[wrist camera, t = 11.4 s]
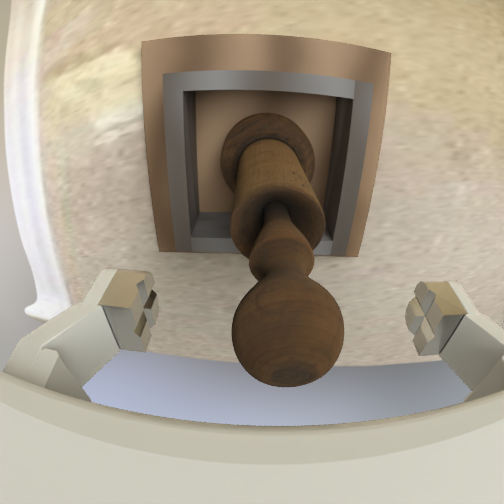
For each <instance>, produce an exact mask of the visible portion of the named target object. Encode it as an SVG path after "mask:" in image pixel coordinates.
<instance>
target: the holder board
mask: <svg viewBox="0 0 504 504" xmlns="http://www.w3.org/2000/svg"><path fill="white" fill-rule="evenodd" d="M390 63H391V53H389V52H385V51H380V50H376V49H372V48H367V47H362V46H357V45H352V44H346V43H341V42H334V41H328V40H321V39H313V38H304V37H293V36H280V35H261V34H216V35H197V36H184V37H173V38H165V39H157V40H150V41H143V42H142V93H143V113H144V128H145V141H146V152H147V163H148V173H149V182H150V190H151V198H152V206H153V213H154V220H155V227H156V234H157V240H158V246H159V252H193V253H229V254H242V253H241V252H240V251H239V250H238V249H237V248H236V246H235V244H234V242H233V240H232V237H231V233H230V219H231V213H232V208H233V202H234V196H235V194H234V193H233V192H232V191H231V190H230V188H229V187H228V185H227V184H226V182H225V180H224V178H223V175H222V171H221V165H220V157H221V151H222V148H223V145H224V142H225V139H226V137H227V135H228V133H229V132H230V130H231V129H232V128H233V127H234V126H235V125H236V124H237V123H238V122H239V121H241V120H242V119H244V118H246V117H248V116H250V115H254V114H258V113H274V114H279V115H282V116H284V117H287V118H288V119H290V120H292V121H293V122H294V123H296V124H297V125H298V126H299V127H300V128H301V129H302V131H303V132H304V133H305V134H306V136H307V137H308V139H309V141H310V142H311V145H312V147H313V150H314V155H315V171H314V175H313V178H312V180H311V183H310V185H311V187H312V189H313V191H314V193H315V195H316V197H317V199H318V201H319V203H320V205H321V207H322V209H323V212H324V216H325V230H324V234H323V237H322V239H321V241H320V243H319V245H318V246H317V247H316V248H315V249H314V250H313V254H314V256H343V257H358V254H359V250H360V246H361V242H362V238H363V234H364V229H365V225H366V221H367V216H368V212H369V207H370V202H371V197H372V192H373V187H374V182H375V177H376V171H377V166H378V160H379V154H380V148H381V142H382V135H383V128H384V121H385V113H386V105H387V96H388V86H389V76H390Z"/></svg>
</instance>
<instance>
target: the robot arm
mask: <svg viewBox="0 0 504 504" xmlns="http://www.w3.org/2000/svg"><path fill="white" fill-rule="evenodd" d="M153 285H154V280H153V276H152V273H150V272H147V271H136V270H126V269H113V268H105V269H103V270H102V271H101V272H100V274H99V276H98V277H97V279H96V280H95V282H94V284H93V285H92V287H91V289H90V290H89V292H88V293H87V295H86V297H85V298H84V300H83V302H82V303H76V304H75V305H73V306H71V307H70V308H68V309H67V310H65V311H63V312H62V313H60V314H59V315H57V316H56V317H54V318H52V319H51V320H49V321H48V322H46V323H45V324H43V325H42V326H40V327H39V328H37V329H35V330H34V331H32V332H31V333H29V334H28V335H26V336H25V337H23V338H22V339H20V341H19V343H18V344H17V346H16V348H15V350H14V351H13V353H12V355H11V357H10V358H9V361H8V362H7V364H6V366H5V368H4V370H3V371H0V504H504V329H503V328H501V327H500V326H499V325H497V324H496V323H495V322H493V321H492V320H491V319H489V318H488V317H487V316H485V315H484V314H483V313H479V312H478V311H477V309H476V307H475V306H474V304H473V303H472V301H471V299H470V298H469V296H468V295H467V293H466V292H465V290H464V289H463V287H462V286H461V284H460V283H459V282H457V281H444V282H419V283H418V284H417V286H416V288H415V290H414V293H415V297H414V298H413V299H412V300H411V301H410V302H409V304H408V306H407V309H406V315H405V319H406V325H407V327H408V330H409V331H410V332H412V333H413V334H414V338H413V342H414V345H415V347H416V350H417V352H418V355H419V356H427V355H437V354H440V355H439V356H440V357H441V358H442V359H443V360H444V361H445V362H446V363H447V364H448V365H449V366H450V367H451V369H453V371H454V372H455V373H456V374H457V375H458V376H459V377H460V378H461V379H462V380H463V382H464V383H465V384H466V385H467V386H468V387H469V388H470V389H471V390H472V392H471V393H470V394H469V395H468V396H467V397H466V398H465V400H464V402H463V403H459V404H456V405H452V406H448V407H444V408H440V409H435V410H430V411H426V412H421V413H415V414H410V415H405V416H399V417H392V418H386V419H379V420H371V421H363V422H353V423H342V424H329V425H310V426H250V425H231V424H216V423H206V422H196V421H187V420H180V419H173V418H166V417H160V416H153V415H148V414H142V413H137V412H132V411H127V410H122V409H118V408H113V407H109V406H104V405H101V404H97V403H93V402H91V400H90V398H89V397H88V395H87V394H86V392H85V391H84V390H83V388H82V386H83V385H84V384H85V383H86V382H87V381H89V379H91V377H93V376H94V375H95V374H96V373H97V372H98V371H99V370H100V369H101V368H102V367H103V366H104V365H105V364H106V363H108V361H110V360H111V359H112V358H113V357H114V356H115V355H116V354H117V353H118V352H119V351H120V349H122V350H131V351H139V352H146V350H147V347H148V344H149V341H150V338H151V332H150V329H149V328H151V327H152V326H153V325H155V323H156V320H157V317H158V308H159V307H158V298H157V294H156V293H155V292H154V291H153V290H152V287H153Z"/></svg>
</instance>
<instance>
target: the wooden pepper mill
mask: <svg viewBox="0 0 504 504" xmlns="http://www.w3.org/2000/svg"><path fill="white" fill-rule="evenodd" d="M220 165H221V171H222V175H223V178H224V180H225V182H226V184H227V185H228V187H229V188H230V190H231V191H232V192H233V193H234V194H235V196H234V202H233V208H232V213H231V219H230V233H231V237H232V240H233V242H234V244H235V246H236V248H237V249H238V250H239V251H240V252H241V253H242V254H243V255H244V256H245V257H247V258H248V259H249V266H250V270H251V272H252V274H253V276H254V277H255V278H256V279H257V280H258V281H259V282H258V283H257V284H256V285H255V286H254V287H253V288H252V289H251V290H250V291H249V292H248V293H247V294H246V295H245V296H244V298H243V299H242V300H241V302H240V304H239V305H238V307H237V309H236V312H235V314H234V318H233V323H232V342H233V347H234V351H235V353H236V356H237V358H238V360H239V362H240V363H241V365H242V366H243V367H244V369H245V370H246V371H247V372H248V373H249V374H250V375H251V376H252V377H254V378H255V379H257V380H258V381H260V382H263V383H265V384H268V385H271V386H277V387H296V386H301V385H305V384H308V383H311V382H313V381H315V380H317V379H319V378H321V377H322V376H323V375H325V374H326V373H327V372H328V371H329V370H330V369H331V368H332V367H333V365H334V364H335V362H336V360H337V359H338V357H339V354H340V352H341V349H342V345H343V340H344V323H343V317H342V314H341V311H340V308H339V306H338V304H337V302H336V301H335V299H334V298H333V296H332V295H331V294H330V293H329V292H328V291H327V290H326V289H325V288H324V287H323V286H321V285H320V284H318V283H317V282H315V281H314V280H312V279H311V278H309V277H308V275H309V274H310V273H311V271H312V269H313V265H314V254H313V250H314V249H315V248H316V247H317V246H318V245H319V243H320V241H321V239H322V237H323V234H324V230H325V216H324V212H323V209H322V207H321V205H320V203H319V201H318V199H317V197H316V195H315V193H314V191H313V189H312V187H311V185H310V183H311V180H312V178H313V175H314V171H315V155H314V150H313V147H312V145H311V142H310V141H309V139H308V137H307V136H306V134H305V133H304V132H303V131H302V129H301V128H300V127H299V126H298V125H297V124H296V123H294V122H293V121H292V120H290V119H288V118H287V117H284V116H282V115H279V114H274V113H258V114H254V115H250V116H248V117H246V118H244V119H242V120H241V121H239V122H238V123H237V124H236V125H235V126H234V127H233V128H232V129H231V130H230V132H229V133H228V135H227V137H226V139H225V142H224V145H223V148H222V151H221V157H220Z"/></svg>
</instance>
